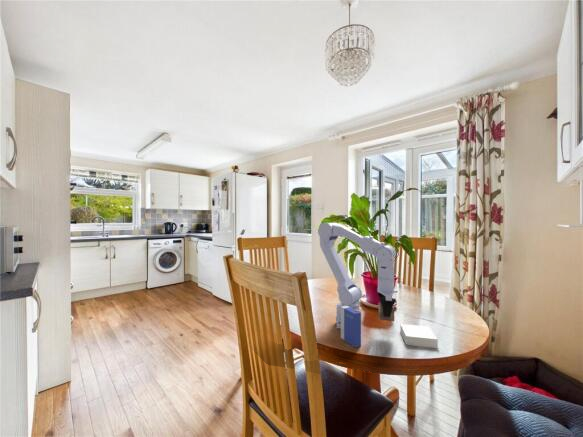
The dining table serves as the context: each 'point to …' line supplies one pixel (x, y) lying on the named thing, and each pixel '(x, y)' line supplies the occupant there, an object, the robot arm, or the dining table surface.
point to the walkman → (351, 326)
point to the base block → (418, 336)
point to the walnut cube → (381, 315)
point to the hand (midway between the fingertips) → (385, 313)
